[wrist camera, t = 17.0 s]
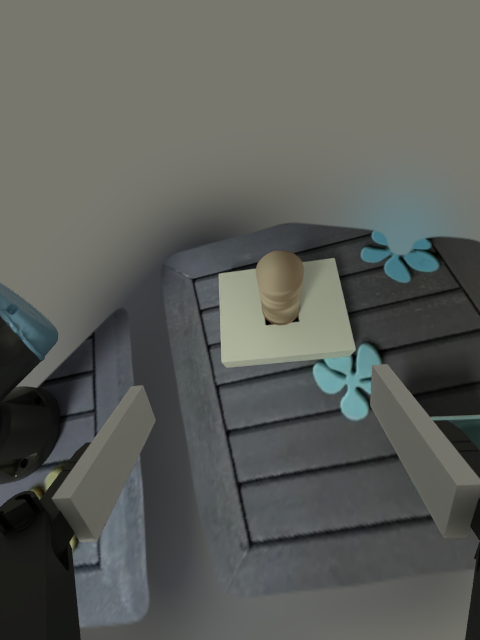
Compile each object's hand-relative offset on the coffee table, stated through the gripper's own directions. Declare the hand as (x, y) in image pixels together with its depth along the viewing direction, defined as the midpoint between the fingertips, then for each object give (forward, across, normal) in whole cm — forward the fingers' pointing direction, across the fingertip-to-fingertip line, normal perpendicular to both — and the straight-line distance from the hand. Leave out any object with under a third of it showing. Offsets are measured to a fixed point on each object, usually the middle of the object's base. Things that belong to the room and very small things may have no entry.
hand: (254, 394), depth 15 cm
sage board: (+31, +3, -8) cm, 32 cm away
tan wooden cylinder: (+30, +3, -8) cm, 31 cm away
